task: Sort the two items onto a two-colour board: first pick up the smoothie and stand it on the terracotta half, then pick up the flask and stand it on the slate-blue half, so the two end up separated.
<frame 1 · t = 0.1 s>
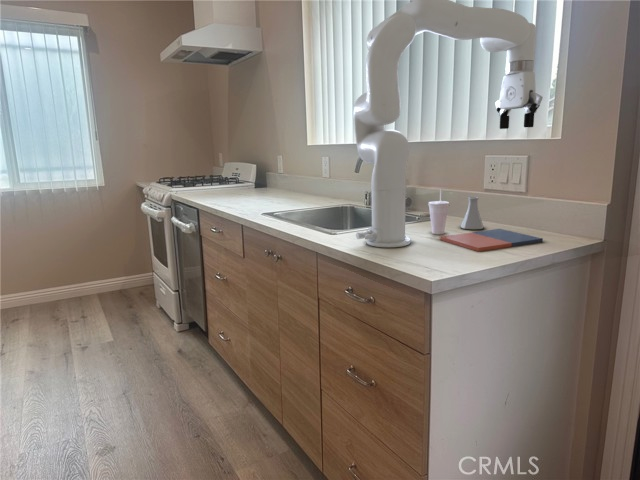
hand: (515, 128, 133), 31 cm above the worktop, tool pointing down, fingers open, 9 cm apart
sorting board: (490, 240, 123), on the worktop
flask: (471, 228, 141), on the worktop
smoothie: (437, 233, 135), on the worktop
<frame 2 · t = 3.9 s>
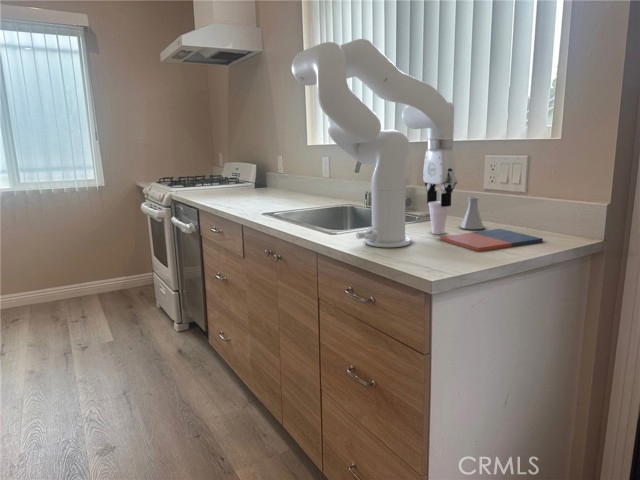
hand: (438, 204, 133), 9 cm above the worktop, tool pointing down, fingers closed on smoothie, 6 cm apart
smoothie: (438, 233, 135), on the worktop, touching gripper
everything else where it was.
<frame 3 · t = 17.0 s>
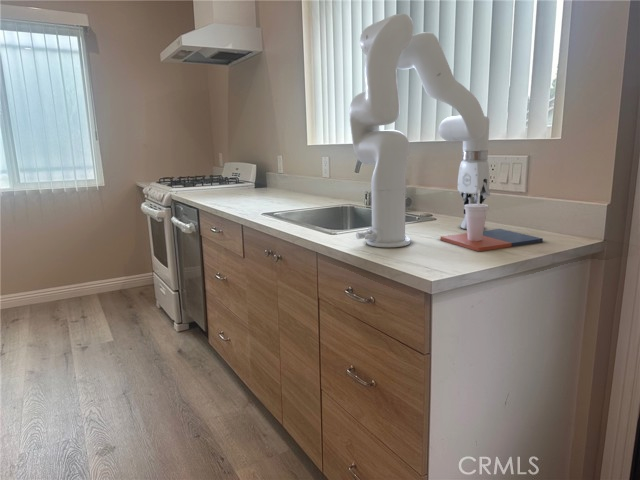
hand: (472, 213, 140), 5 cm above the worktop, tool pointing down, fingers closed on flask, 3 cm apart
flask: (471, 228, 141), on the worktop, touching gripper
smoothie: (474, 240, 121), point 1 cm above the worktop, touching sorting board
when the fingers open (6 cm above the worktop, at t = 24.5 s): flask stays where it is, resting on sorting board.
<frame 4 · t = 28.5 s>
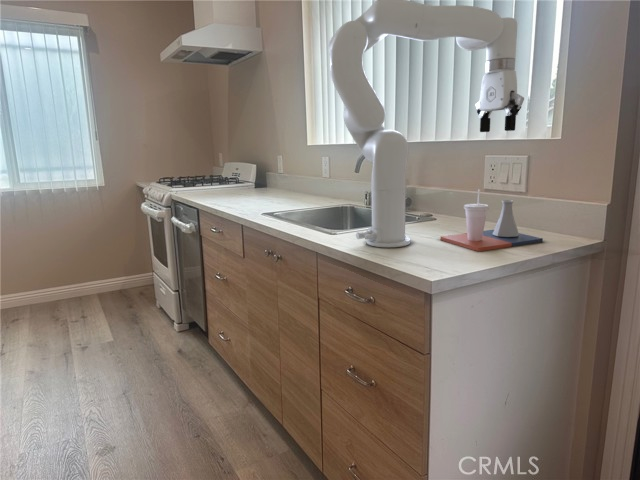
hand: (496, 131, 123), 30 cm above the worktop, tool pointing down, fingers open, 9 cm apart
flask: (505, 235, 124), point 1 cm above the worktop, touching sorting board
everything else where it was.
at the end: smoothie inside the target area on the sorting board (0.1 cm from its centre), point 0.8 cm above the sorting board's base; flask inside the target area on the sorting board (0.1 cm from its centre), point 0.8 cm above the sorting board's base; smoothie tilted 0° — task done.
